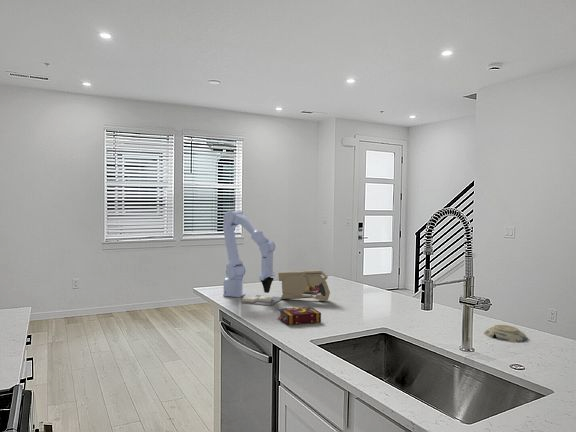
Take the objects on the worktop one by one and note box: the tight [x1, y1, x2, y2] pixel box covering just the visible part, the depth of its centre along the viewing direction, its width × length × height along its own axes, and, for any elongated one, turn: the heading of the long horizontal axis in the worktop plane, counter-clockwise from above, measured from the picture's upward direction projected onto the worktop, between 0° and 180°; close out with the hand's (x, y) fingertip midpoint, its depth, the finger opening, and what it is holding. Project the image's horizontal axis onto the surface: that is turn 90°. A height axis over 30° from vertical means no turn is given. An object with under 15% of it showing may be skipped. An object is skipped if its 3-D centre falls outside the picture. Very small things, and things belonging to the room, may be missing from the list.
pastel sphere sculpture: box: [303, 285, 321, 294], centre depth 252 cm, size 25×24×9 cm
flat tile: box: [241, 295, 259, 303], centre depth 218 cm, size 6×6×2 cm
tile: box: [258, 295, 274, 302], centre depth 220 cm, size 6×2×6 cm
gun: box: [277, 269, 331, 303], centre depth 223 cm, size 25×3×16 cm, turn 84°
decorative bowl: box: [483, 324, 529, 343], centre depth 169 cm, size 15×4×15 cm
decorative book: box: [277, 305, 322, 326], centre depth 186 cm, size 11×16×5 cm
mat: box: [241, 294, 283, 307], centre depth 221 cm, size 15×18×1 cm
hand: (266, 292), depth 222 cm, fingers closed
